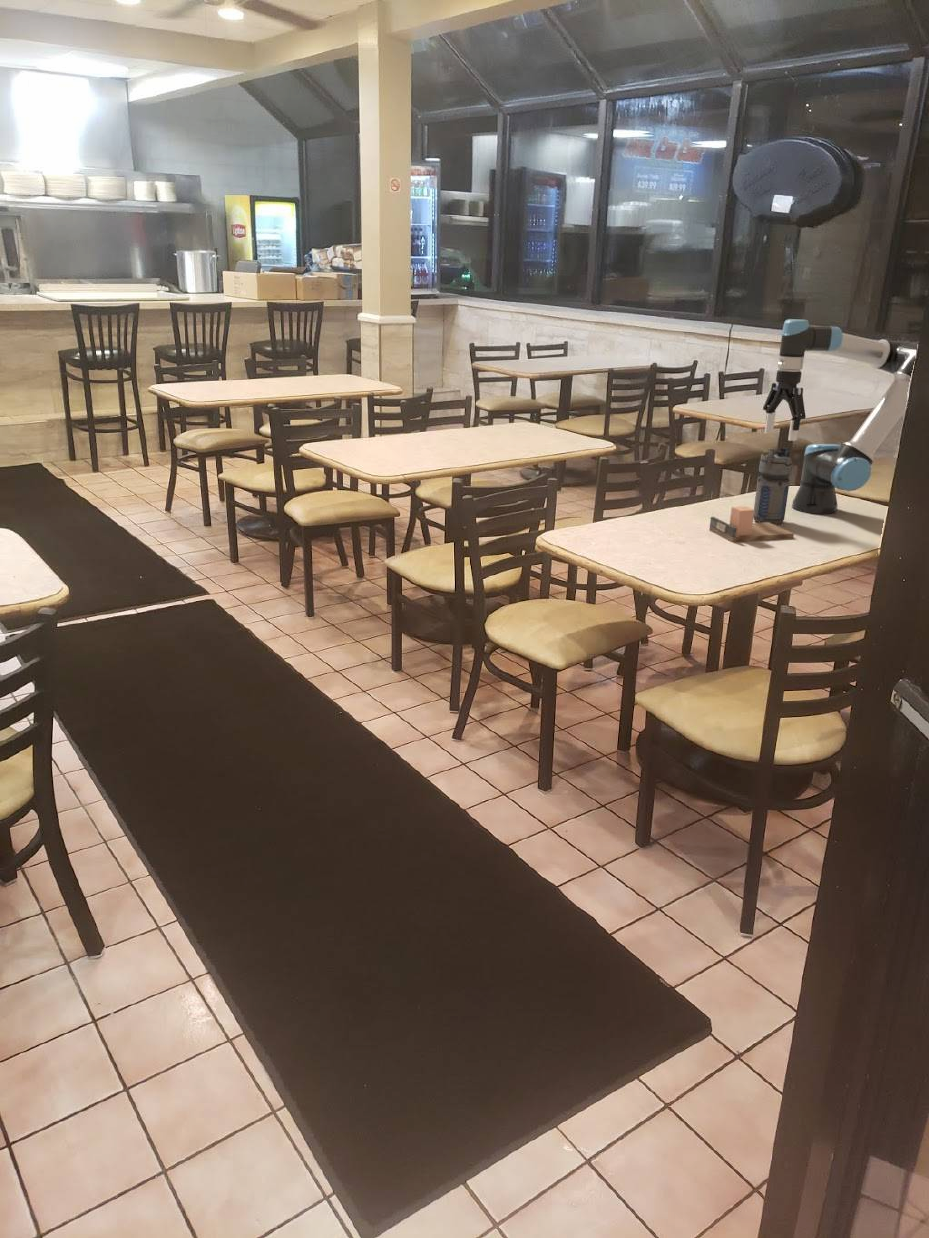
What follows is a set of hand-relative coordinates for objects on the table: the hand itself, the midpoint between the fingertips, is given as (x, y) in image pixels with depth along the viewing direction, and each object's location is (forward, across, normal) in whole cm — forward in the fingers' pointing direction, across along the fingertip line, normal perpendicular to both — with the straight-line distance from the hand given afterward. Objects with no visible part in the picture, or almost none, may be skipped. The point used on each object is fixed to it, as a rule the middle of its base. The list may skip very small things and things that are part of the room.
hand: (780, 436), depth 311 cm
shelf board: (+29, +13, -15) cm, 35 cm away
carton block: (+27, +16, -21) cm, 38 cm away
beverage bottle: (+29, 0, 0) cm, 29 cm away
